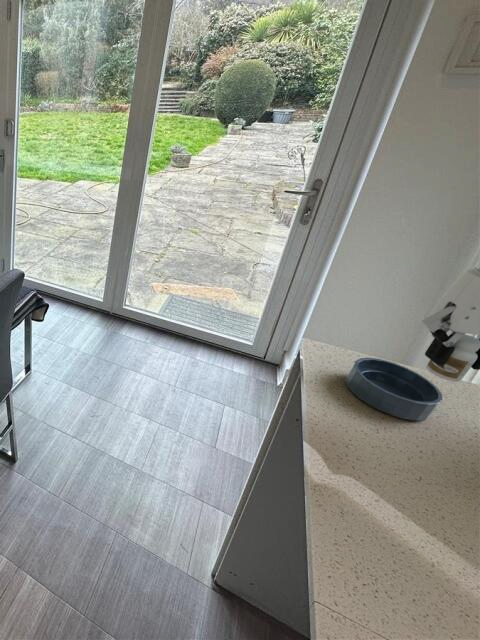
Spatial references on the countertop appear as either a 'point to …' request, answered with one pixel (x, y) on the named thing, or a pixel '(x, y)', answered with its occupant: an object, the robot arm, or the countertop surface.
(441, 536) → the countertop surface
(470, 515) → the countertop surface
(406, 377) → the bowl
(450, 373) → the pill bottle
